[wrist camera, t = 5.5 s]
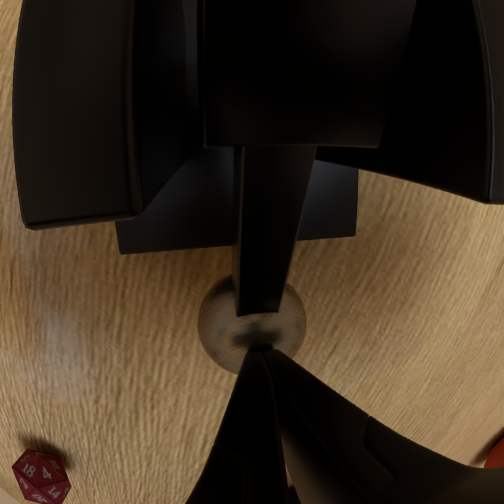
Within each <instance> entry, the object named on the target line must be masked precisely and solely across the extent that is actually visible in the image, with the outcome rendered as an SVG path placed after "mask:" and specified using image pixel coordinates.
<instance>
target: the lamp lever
mask: <svg viewBox="0 0 504 504" xmlns="http://www.w3.org/2000/svg"><path fill="white" fill-rule="evenodd" d="M418 4H419V0H197V67H198V104H199V130H200V143H201V145H202V147H203V148H207V149H209V148H227V147H234V152H233V203H232V273H230V274H228V275H226V276H224V277H223V278H221V279H220V280H218V281H217V282H216V283H215V284H214V285H213V286H212V287H211V288H210V289H209V290H208V292H207V293H206V295H205V296H204V298H203V300H202V302H201V305H200V308H199V312H198V333H199V337H200V341H201V343H202V345H203V347H204V349H205V351H206V352H207V354H208V355H209V357H210V358H211V359H212V360H213V361H214V362H215V363H216V364H218V365H219V366H220V367H221V368H223V369H225V370H227V371H229V372H231V373H234V374H236V375H238V374H239V371H240V368H241V365H242V362H243V359H244V356H245V354H246V353H248V352H257V351H260V352H262V353H263V351H265V350H273V349H279V350H280V351H282V352H283V353H284V354H286V355H287V356H288V357H290V358H291V359H293V358H294V356H295V355H296V354H297V352H298V351H299V349H300V347H301V345H302V343H303V340H304V337H305V333H306V313H305V309H304V306H303V303H302V300H301V299H300V297H299V295H298V293H297V292H296V291H295V289H294V288H293V287H292V286H291V285H290V284H289V283H288V282H287V277H288V273H289V269H290V265H291V261H292V257H293V253H294V249H295V244H296V240H297V236H298V232H299V227H300V223H301V219H302V214H303V210H304V206H305V201H306V197H307V192H308V188H309V183H310V178H311V174H312V169H313V164H314V160H315V155H316V150H317V146H337V147H361V148H379V147H380V145H381V143H382V140H383V137H384V133H385V130H386V127H387V124H388V121H389V117H390V114H391V111H392V107H393V104H394V101H395V97H396V94H397V90H398V87H399V83H400V79H401V76H402V72H403V68H404V64H405V60H406V57H407V53H408V49H409V44H410V40H411V36H412V32H413V27H414V23H415V18H416V14H417V9H418Z"/></svg>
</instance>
